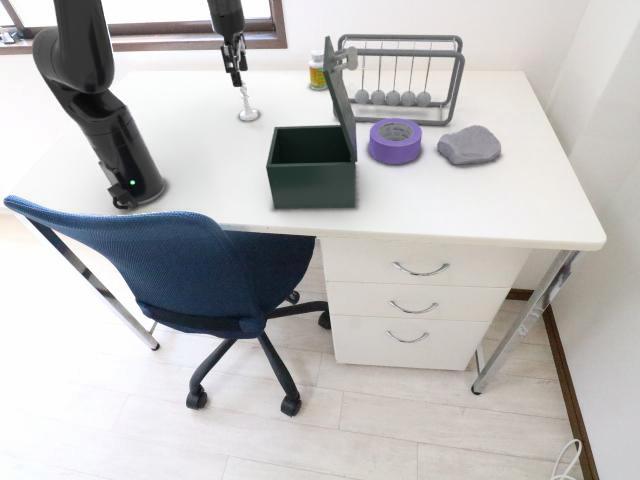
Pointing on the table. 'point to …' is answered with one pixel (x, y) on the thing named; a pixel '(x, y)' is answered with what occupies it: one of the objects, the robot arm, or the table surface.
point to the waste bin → (310, 168)
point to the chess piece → (247, 106)
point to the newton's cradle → (408, 96)
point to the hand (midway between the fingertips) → (241, 78)
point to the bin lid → (341, 91)
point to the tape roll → (395, 150)
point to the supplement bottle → (317, 70)
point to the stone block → (470, 145)
